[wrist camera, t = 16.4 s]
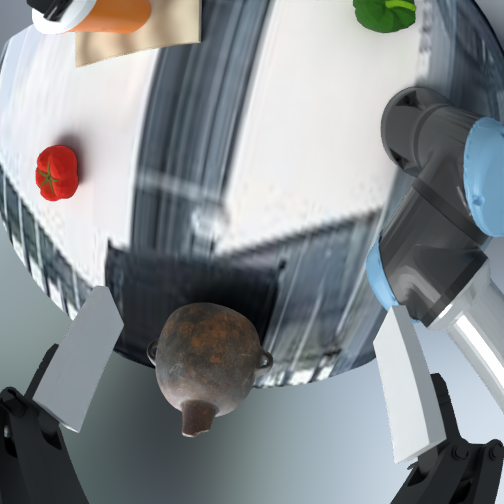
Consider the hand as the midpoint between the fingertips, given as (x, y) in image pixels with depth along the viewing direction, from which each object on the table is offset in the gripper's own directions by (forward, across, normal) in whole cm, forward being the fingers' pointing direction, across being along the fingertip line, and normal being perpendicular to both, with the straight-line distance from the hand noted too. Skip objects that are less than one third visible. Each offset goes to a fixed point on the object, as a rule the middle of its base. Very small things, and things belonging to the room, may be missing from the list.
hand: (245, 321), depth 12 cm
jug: (+35, -10, -40) cm, 54 cm away
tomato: (+35, -39, -3) cm, 52 cm away
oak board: (+35, -21, +23) cm, 47 cm away
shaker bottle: (+33, -21, +23) cm, 46 cm away
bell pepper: (+35, +15, +23) cm, 44 cm away
